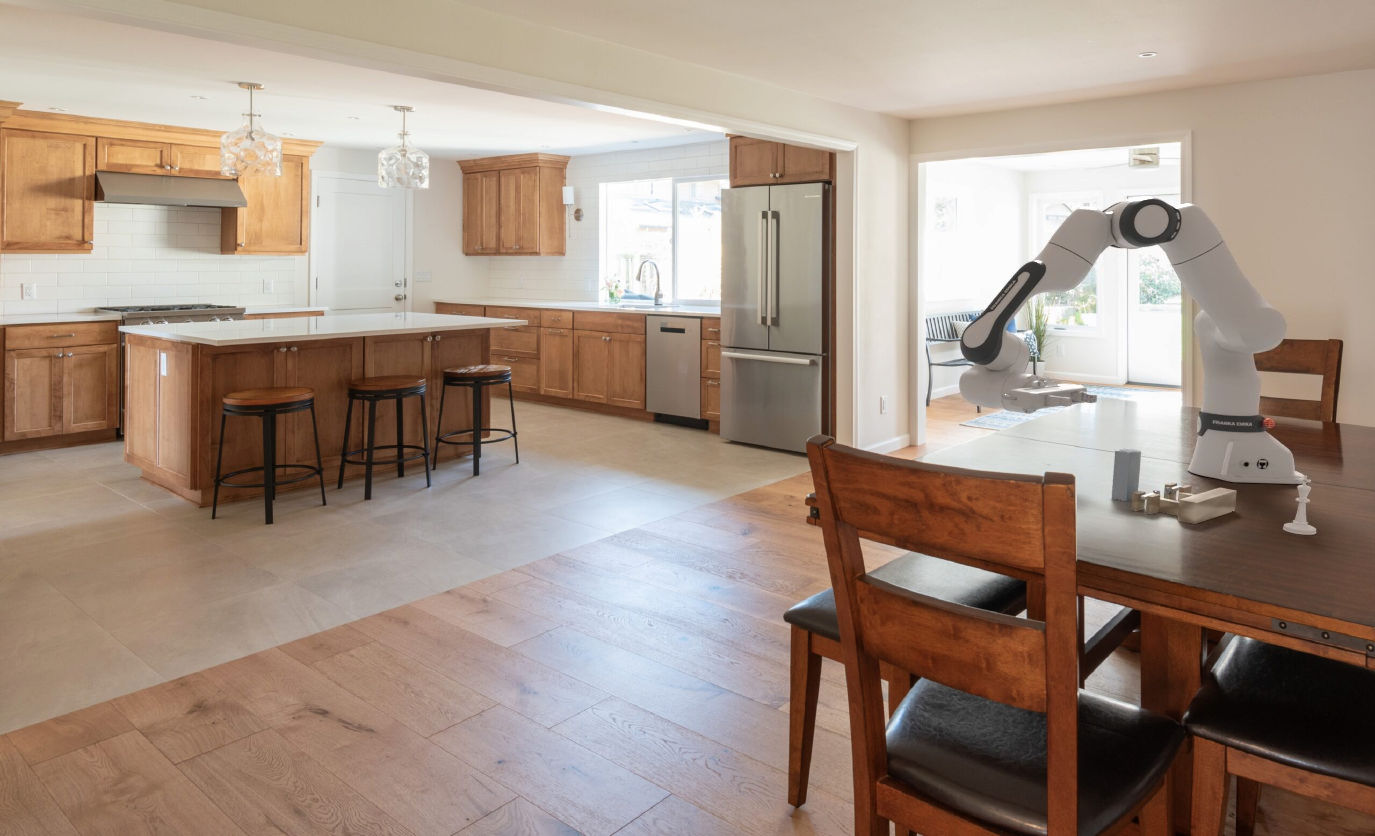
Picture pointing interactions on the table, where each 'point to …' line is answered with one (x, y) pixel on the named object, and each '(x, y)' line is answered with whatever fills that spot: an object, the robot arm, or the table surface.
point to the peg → (1126, 474)
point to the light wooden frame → (1188, 503)
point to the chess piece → (1301, 512)
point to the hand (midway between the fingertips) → (1083, 400)
